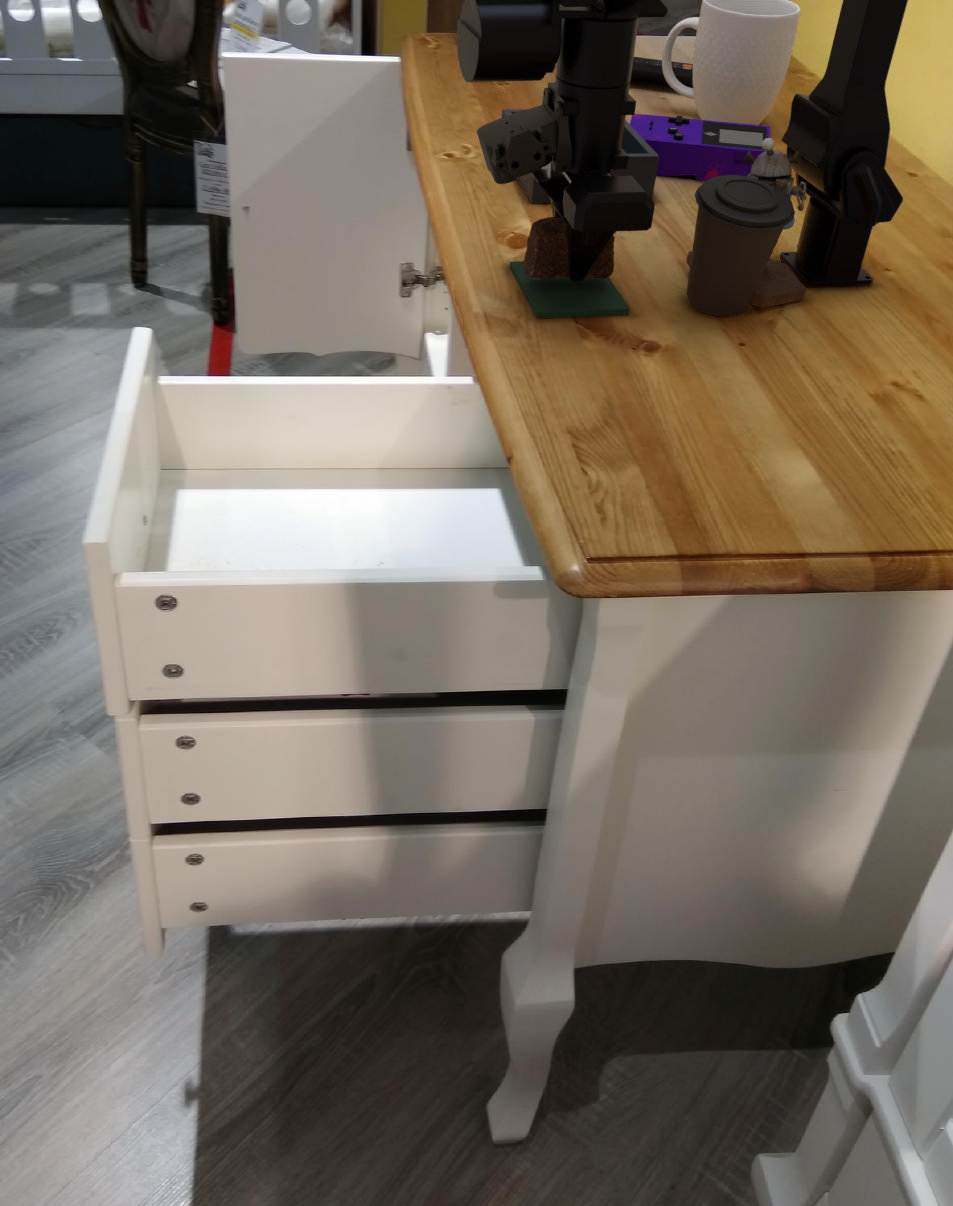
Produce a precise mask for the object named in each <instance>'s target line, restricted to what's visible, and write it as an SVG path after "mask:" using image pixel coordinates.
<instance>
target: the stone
mask: <svg viewBox="0 0 953 1206" xmlns="http://www.w3.org/2000/svg"><path fill="white" fill-rule="evenodd" d="M614 249H615V234H614V235H613V236H612V237H611V239H610V240H609V241H608V243H607V244H606V246H605V247H604V249H603V250H602V252H601V253H600V255H599V256H598V258H597V259H596V261H595V262H594V264H593V266H592V267H591V269H590V270H589V272H588V273H587V275H586V276H585V278H605V279H606V278H607V277H609V278H610V277H611V276H612V275H613V273H614V270H615V269H614V268H615V250H614ZM523 261H524V262H525V274H527V275H528V276H529V277H535V278H544V279H550V278H554V277H569V263H568V238H567V222H566V221H565V220H563V219H562V218H557V217H553V216H549V217H548V216H547V217H544V218H540V219H537V220H536V221H533V222H532V223H531V227H530V231H529V234H528V237H527V241H526V250H525V255H524V260H523Z"/></svg>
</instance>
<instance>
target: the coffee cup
mask: <svg viewBox="0 0 953 1206" xmlns="http://www.w3.org/2000/svg"><path fill="white" fill-rule="evenodd" d="M694 199H695V203H696V204H697V206H698V207H697V215H696V220H695V229H694V235H693V243H692V248H691V249H692V250H691V251H692V256H691V263H690V268H689V271H688V279H687V285H686V291H685V292H686V299H687V300H688V302H689V303H690V305H691V306H693V307H694V308H695V309H697V310H698V311H701V312H703V313H705V314H707V315H711V316H715V317H720V318H721V317H723V318H730V317H736V316H739V315H742V314H744V313H745V312H746V311H747V310H748V308H749V305H750V304H749V303H750V301H751V299H752V296H753V294H754V292H755V290H756V288H757V285H758V283H759V281H760V279H761V276H762V274H763V272H764V270H765V268H766V265H767V263H768V261H769V259H771V256H772V255H773V252H774V250H775V248H776V246H777V243H778V241H779V238H780V236H781V235H782V232H783V228H784V226H786V225H787V224H789V223H790V222H791V221H792V220H793V218H794V219H795V215H796V212H795V211H796V210H795V208H794V203H793V201H792V199H790V198H789V196H788V195H787V194H786V193H785V192H783V191H782V190H781V189H779V188H777V187H776V186H774V185H772V184H770V183H768V182H765V181H762V180H759V179H756V178H752V177H747V176H740V175H723V176H717V177H713V178H710V179H708V180H706V181H705V182H702V184H701V185H699V186H698V187H697V188H696V191H695V193H694Z"/></svg>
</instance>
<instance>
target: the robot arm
mask: <svg viewBox="0 0 953 1206" xmlns="http://www.w3.org/2000/svg"><path fill="white" fill-rule="evenodd" d="M908 2H909V0H842V3H841V8H840V11H839V15H838V19H837V24H836V28H835V32H834V36H833V40H832V43H831V44H832V45H831V50H830V51H829V52H830V53H829V57H828V61H827V64H826V69H825V72H824V75H823V77H822V78H821V80H820V81H819V82H818V83H817V85H816V86H815V87H814V88H813V90H812V91H811V92H810V94H809V95H806V94H801V93H796V94H794V96H793V97H792V101H791V105H790V116H789V123H788V126H787V128H786V131H785V132H784V134H783V136H782V138H781V142H782V143H783V144H785V145H786V153H785V154H786V155H787V156H788V158H789V160H790V159H791V158H792V157H793V156H794V155H795V153H796V151H797V152H798V153H799V155H800V158H801V164H798V163H791V169H792V170H793V171H794V173H795V182H796V186H797V187H799V186H800V183H801V181H802V182H805V183H806V192H805V195H806V196H809V199H808V200H809V201H808V204H807V207H806V209H805V214H804V218H803V221H802V226H801V230H800V235H799V239H798V242H797V246H796V251H782V252H780V256H779V259H780V260H781V262H782V263H785V264H787V265H788V266H789V268H790V269H791V270H792V272H793V273H794V274H795V276H796V277H797V278H798V279H799V280H800V281H801V283H802V284H804V285H806V286H807V287H833V286H834V287H838V286H865V285H866V286H867V285H872V284H873V281H874V277H873V276H872V275H871V274H870V273H868V271H866V270H865V269H864V268H863V267H862V266H863V263H864V258H865V255H866V252H867V250H868V249H867V248H868V245H869V241H870V238H871V235H872V231H873V227H876V225H878V224H879V223H889V222H892V220H893V218H894V217H895V215H896V214H897V212H898V210H899V209H900V206H901V205H902V203H903V201H904V197H903V196H902V194H901V192H900V191H899V189H898V187H897V186H896V184H895V183H894V181H893V179H892V178H891V176H890V174H889V173H888V171H887V170H886V163H887V156H888V150H889V141H890V135H891V121H890V115H889V109H888V101H887V94H886V84H887V78H888V75H889V72H890V68H891V64H892V60H893V57H894V53H895V50H896V46H897V42H898V39H899V35H900V32H901V28H902V24H903V20H904V16H905V13H906V9H907V6H908ZM668 13H669V8H668V6H667V5H666V4H665V3H664V2H663V1H662V0H464V1H463V4H462V7H461V12H460V18H459V19H458V20H457V23H456V50H457V58H458V59H457V60H458V64H459V69H460V72H461V76H462V77H463V79H464V81H465V82H466V83H500V82H534V81H535V82H536V81H537V82H539V81H541V80H543V79H544V78H545V77H546V75H547V74H553V73H554V71H555V70H556V71H555V78H554V79H555V80H554V82H547V86H546V87H543V93H542V101H541V104H540V105H536V106H534V107H531V108H525V110H521V111H519V112H516V113H513V114H511V115H508V116H506V117H503V118H502V117H500V118H498V119H496V120H495V119H494V120H493V121H491V122H490V121H489V122H488V123H485V124H483V125H481V126H480V127H478V129H477V130H476V134H477V138H478V142H479V145H480V148H481V152H482V155H483V158H484V162H485V166H486V168H487V171H488V172H489V173H490V174H491V176H492V179H493V181H494V182H495V184H497V185H506V184H509V183H512V182H514V181H517V179H516V178H517V177H521V176H523V175H526V174H528V173H532V175H533V176H534V178H535V179H536V181H537V182H538V184H539V185H540V186H541V188H542V189H543V190H544V191H545V192H546V193H547V194H548V195H549V197H550V202H551V203H550V205H551V206H550V207H551V214H552V217H557V218H562V219H563V220H565V221H566V222H567V238H568V263H569V277H570V279H571V281H582V280H583V279H584V278H585V276H586V275H587V273H588V272H589V270H590V269H591V267H592V266H593V264H594V262H595V261H596V259H597V258H598V256H599V255H600V253H601V252H602V250H603V249H604V247H605V246H606V244H607V243H608V241H609V240H610V239H611V237H612V236H613V235H614V236H615V234H616V232H643V231H644V232H646V231H649V230H650V229H651V228H652V226H653V221H654V213H655V207H656V203H655V202H654V200H653V198H652V199H651V198H650V197H649V196H648V194H647V193H646V192H645V191H644V190H643V189H642V187H641V186H640V185H639V184H638V183H637V181H636V180H635V179H634V178H633V177H632V176H610V174H609V173H611V169H627V165H628V158H629V156H628V155H627V154H626V152H625V151H624V150H623V149H622V140H623V133H624V125H625V120H626V119H627V116H632V115H635V114H636V107H637V100H635V98H634V97H633V96H632V95H631V94H630V89H631V88H630V86H631V80H632V79H631V73H632V65H633V58H634V57H635V50H636V42H637V35H638V27H639V21H640V20H639V19H641V18H665V17H666V16H667V15H668ZM555 68H556V69H555Z"/></svg>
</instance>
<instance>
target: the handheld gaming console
mask: <svg viewBox="0 0 953 1206" xmlns="http://www.w3.org/2000/svg"><path fill="white" fill-rule="evenodd" d="M629 124H630V125H631V126H632V127H633V128H634V130H635V131H636V132H637V133H638V134H639V135H640V136H641V137H642V138H643V139H644V140H645V141H646V143H647V144H648V145H649V146H650V147H651V148H652V149H653V150H654V151H655V152H656V153H657V154H658V155H659V160H658V167H657V173H656V176H661V177H679V176H694V177H695V180H697V181H699V182H702V183H704V182H705V181H706V180H708V179H710V178H713V177H717V176H723V175H740V176H747V175H748V174H749V173H751V168H752V165H753V163H752V162H744V163H743V160H744V158H745V156H746V155H747V153H748V151H750V153H751V155H752V157H753V158H754V159H756V158H757V157H758V156H759V155H760V154H761V153H763V152H765V150H763V148H762V142H763V141H764V140H765V139H766V138H771V139H772V137H771V136H772V135H771V126H769V125H760V124H759V125H751V124H740V123H729V122H719V121H708V120H701V119H697V118H687V117H686V118H685V117H683V115H676V116H667V115H666V116H665V115H655V114H643V113H635V115H631V118H630V122H629Z"/></svg>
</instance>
